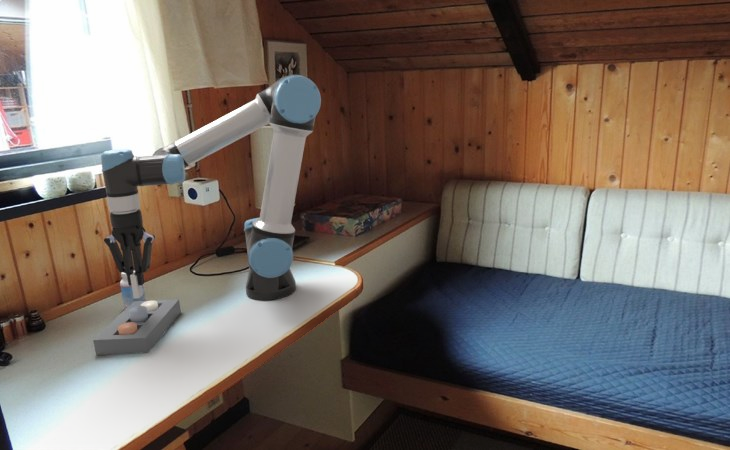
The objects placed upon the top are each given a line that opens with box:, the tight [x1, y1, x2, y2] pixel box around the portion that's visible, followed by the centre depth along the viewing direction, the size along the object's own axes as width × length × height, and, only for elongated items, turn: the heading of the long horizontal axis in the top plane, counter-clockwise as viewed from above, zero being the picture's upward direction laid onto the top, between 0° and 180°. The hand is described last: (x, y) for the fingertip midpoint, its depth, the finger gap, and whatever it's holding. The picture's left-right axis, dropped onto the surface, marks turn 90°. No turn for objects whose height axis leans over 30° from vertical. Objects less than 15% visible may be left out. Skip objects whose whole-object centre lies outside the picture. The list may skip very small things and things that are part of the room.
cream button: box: [141, 300, 158, 311], centre depth 158 cm, size 4×4×4 cm
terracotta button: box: [118, 322, 138, 335], centre depth 145 cm, size 4×4×4 cm
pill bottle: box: [119, 271, 147, 310], centre depth 168 cm, size 6×6×11 cm
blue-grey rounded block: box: [129, 306, 148, 323], centre depth 151 cm, size 4×4×4 cm
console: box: [92, 298, 182, 356], centre depth 152 cm, size 13×24×4 cm, turn 178°
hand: (138, 296), depth 153 cm, fingers closed
